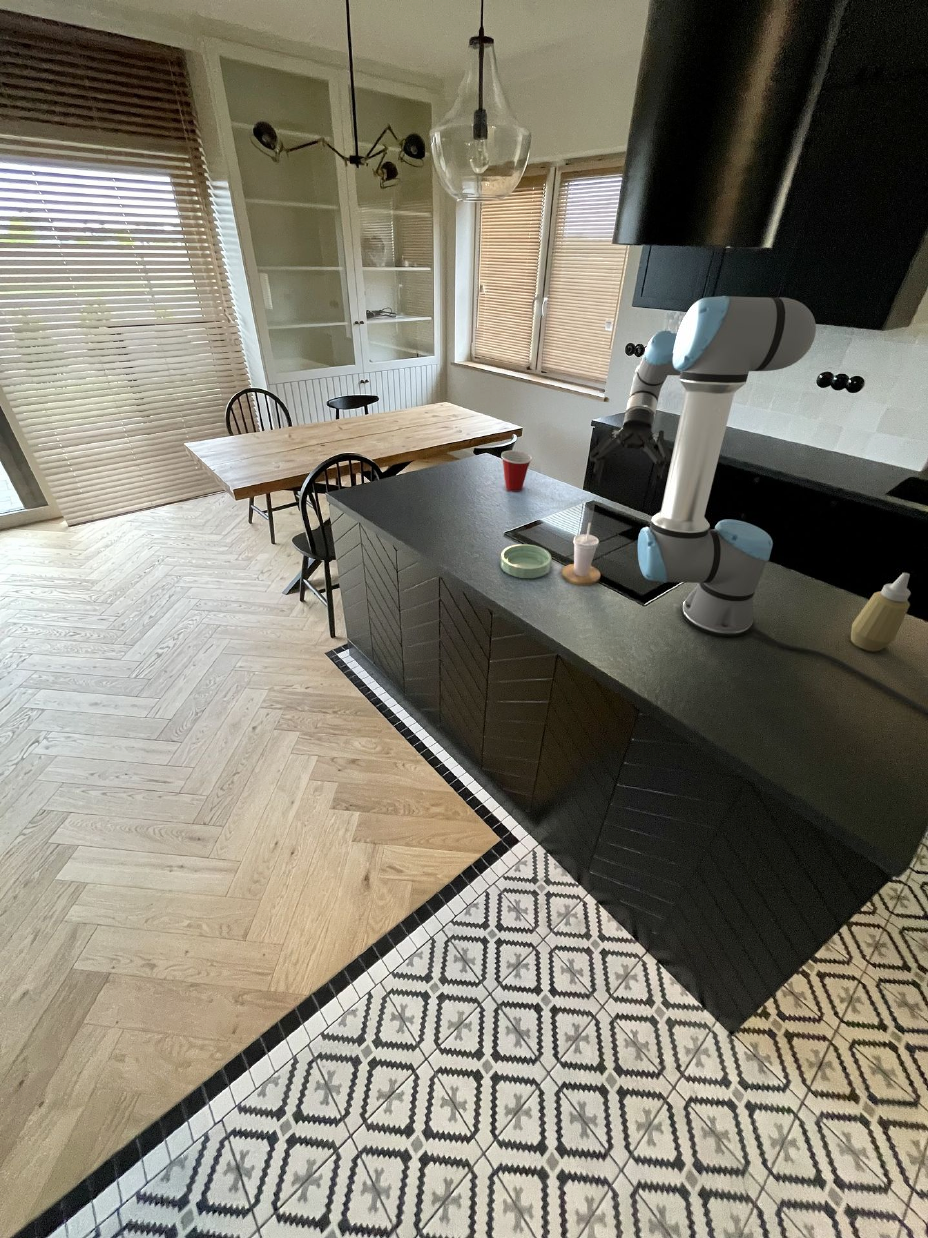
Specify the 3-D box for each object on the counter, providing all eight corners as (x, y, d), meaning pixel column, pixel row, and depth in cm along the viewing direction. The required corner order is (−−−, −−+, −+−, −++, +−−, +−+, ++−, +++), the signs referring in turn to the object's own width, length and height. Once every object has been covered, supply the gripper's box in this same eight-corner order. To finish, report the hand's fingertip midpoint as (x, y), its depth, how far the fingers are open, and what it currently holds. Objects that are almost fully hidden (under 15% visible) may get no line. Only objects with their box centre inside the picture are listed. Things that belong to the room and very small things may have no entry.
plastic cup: (519, 497, 182) (521, 462, 175) (493, 489, 187) (494, 455, 180) (535, 487, 189) (538, 454, 182) (510, 480, 195) (512, 447, 187)
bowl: (560, 569, 143) (561, 559, 141) (522, 584, 136) (523, 573, 134) (527, 549, 151) (528, 539, 149) (490, 563, 145) (491, 552, 143)
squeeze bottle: (887, 660, 113) (932, 588, 102) (844, 647, 116) (883, 577, 106) (887, 640, 119) (929, 571, 108) (845, 628, 122) (882, 560, 111)
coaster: (608, 577, 139) (608, 575, 139) (581, 589, 134) (581, 586, 134) (580, 562, 146) (580, 559, 145) (553, 572, 141) (554, 570, 141)
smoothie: (597, 570, 141) (605, 522, 132) (588, 581, 136) (596, 532, 128) (574, 564, 143) (581, 516, 135) (564, 574, 139) (571, 525, 131)
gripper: (688, 428, 138) (675, 499, 132) (592, 423, 146) (575, 489, 140) (692, 408, 131) (678, 481, 125) (591, 404, 139) (573, 472, 133)
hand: (624, 486), depth 133 cm, fingers open, 13 cm apart
